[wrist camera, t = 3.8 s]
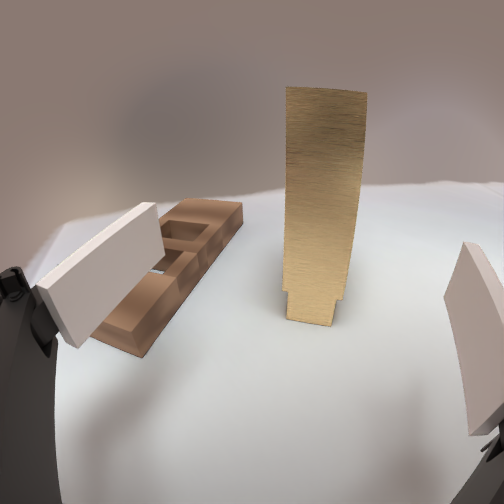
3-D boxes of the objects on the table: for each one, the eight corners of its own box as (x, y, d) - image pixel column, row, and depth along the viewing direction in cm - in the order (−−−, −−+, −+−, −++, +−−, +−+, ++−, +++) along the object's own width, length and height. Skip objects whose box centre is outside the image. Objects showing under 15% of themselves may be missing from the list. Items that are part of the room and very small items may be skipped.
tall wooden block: (299, 264, 27) (305, 87, 19) (343, 271, 26) (361, 91, 18) (280, 318, 21) (285, 86, 13) (336, 327, 20) (367, 92, 12)
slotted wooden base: (188, 217, 36) (186, 197, 35) (243, 223, 34) (242, 202, 33) (73, 328, 20) (61, 304, 18) (142, 358, 18) (131, 332, 16)
